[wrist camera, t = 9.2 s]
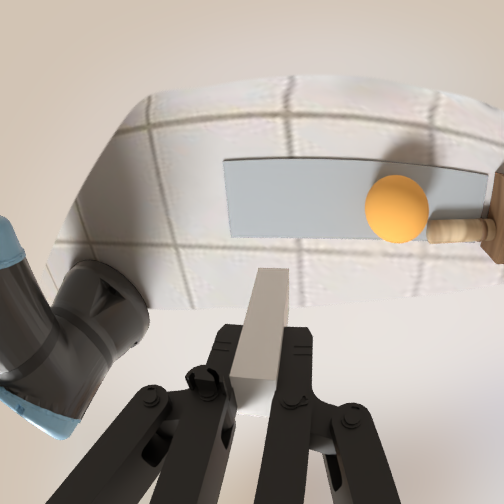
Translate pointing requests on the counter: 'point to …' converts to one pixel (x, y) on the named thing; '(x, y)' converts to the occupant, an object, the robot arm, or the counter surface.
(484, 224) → the pin
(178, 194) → the counter surface
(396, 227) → the ball
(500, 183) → the board
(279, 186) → the lane mark
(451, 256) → the counter surface
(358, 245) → the counter surface
